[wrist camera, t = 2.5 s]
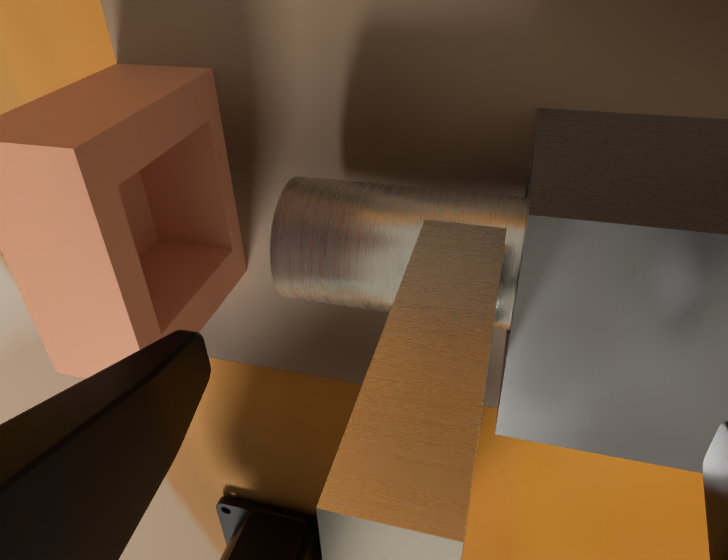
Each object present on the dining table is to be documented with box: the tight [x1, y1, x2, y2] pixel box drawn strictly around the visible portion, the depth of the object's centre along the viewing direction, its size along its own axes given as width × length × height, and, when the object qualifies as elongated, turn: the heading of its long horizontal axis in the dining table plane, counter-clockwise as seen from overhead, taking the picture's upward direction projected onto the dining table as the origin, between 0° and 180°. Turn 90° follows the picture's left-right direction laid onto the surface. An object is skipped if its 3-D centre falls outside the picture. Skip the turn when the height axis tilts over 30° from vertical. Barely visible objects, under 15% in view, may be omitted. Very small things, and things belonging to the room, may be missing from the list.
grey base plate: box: [101, 0, 728, 408], centre depth 15 cm, size 14×17×1 cm
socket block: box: [0, 64, 247, 378], centre depth 14 cm, size 6×3×5 cm, turn 1°
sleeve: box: [495, 108, 728, 473], centre depth 11 cm, size 5×6×5 cm
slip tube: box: [270, 176, 528, 560], centre depth 10 cm, size 12×3×9 cm, turn 92°
